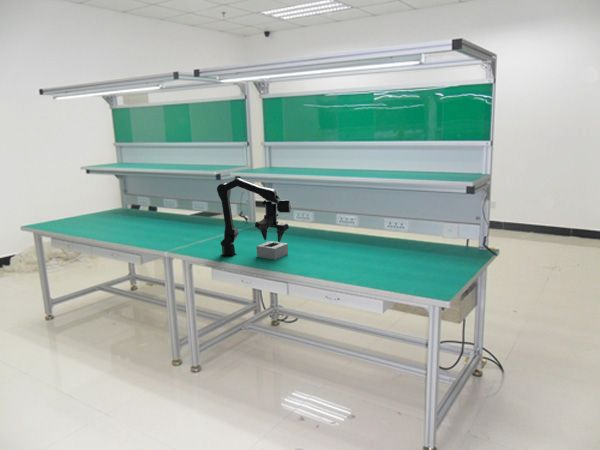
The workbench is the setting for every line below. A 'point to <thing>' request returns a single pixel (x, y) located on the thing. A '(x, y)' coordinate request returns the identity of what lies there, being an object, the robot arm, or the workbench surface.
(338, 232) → the workbench surface
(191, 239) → the workbench surface
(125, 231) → the workbench surface
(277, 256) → the slot box
